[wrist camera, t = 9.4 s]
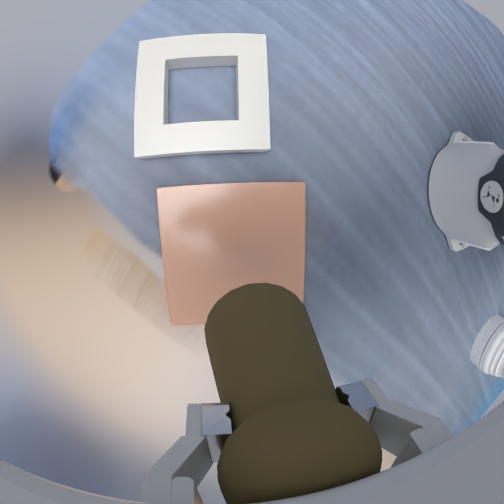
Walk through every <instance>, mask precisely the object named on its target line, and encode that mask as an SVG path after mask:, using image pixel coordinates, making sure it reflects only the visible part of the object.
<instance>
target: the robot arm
mask: <svg viewBox="0 0 504 504" xmlns="http://www.w3.org/2000/svg"><path fill="white" fill-rule="evenodd" d="M429 202H430V207H431V211H432V215H433V218H434V220H435V222H436V224H437V226H438V227H439V229H440V230H441V231H442V232H443V233H444V235H445V236H446V238H447V242H448V245H449V248H450V249H451V250H452V251H456V252H457V251H460V250H462V249H464V248H467V247H469V246H473V247H477V248H480V249H484V250H488V251H490V250H491V249H492V248H495V247H497V246H498V245H499V244H500V243H501V244H503V245H504V150H503V149H500V148H499V147H498V145H496V144H495V143H493V142H480V141H473V140H472V139H471V138H469V137H468V136H466V135H465V134H463V133H462V132H460V131H454V132H453V133H452V135H451V137H450V140H449V143H448V144H447V145H446V146H445V147H444V148H443V149H442V150H441V151H440V152H439V153H438V154H437V156H436V158H435V160H434V162H433V165H432V168H431V172H430V177H429ZM335 391H336V394H337V397H338V399H339V402H340V404H343V405H346V406H350V407H352V408H353V409H354V410H355V411H356V412H358V413H359V414H360V415H361V416H362V417H363V418H364V419H365V420H366V421H367V422H368V423H369V424H370V425H371V426H372V428H373V429H374V431H375V432H376V434H377V435H378V437H379V441H380V445H381V447H382V448H383V449H385V450H387V451H388V452H390V453H392V454H394V455H395V456H397V458H396V459H395V461H394V462H393V464H392V466H391V468H389V469H387V470H385V471H382V472H380V473H377V474H374V475H372V476H369V477H366V478H363V479H360V480H357V481H354V482H351V483H348V484H345V485H342V486H338V487H335V488H331V489H327V490H324V491H320V492H315V493H311V494H307V495H302V496H297V497H292V498H287V499H281V500H275V501H268V502H260V503H251V504H504V401H503V402H502V403H500V404H499V405H498V406H497V407H495V408H494V409H493V410H492V411H490V412H489V413H487V414H486V415H485V416H483V417H482V418H480V419H479V420H478V421H476V422H475V423H473V424H472V425H470V426H469V427H467V428H466V429H464V430H463V431H461V432H459V433H458V434H456V435H455V436H454V435H453V434H452V433H451V431H450V430H449V429H448V428H447V427H446V425H445V424H444V423H443V422H442V421H441V420H440V418H438V417H435V416H432V415H429V414H427V413H424V412H421V411H418V410H416V409H413V408H410V407H408V406H405V405H403V404H400V403H398V402H395V401H392V402H390V401H389V399H388V398H387V397H386V395H385V394H384V393H383V391H382V390H381V389H380V388H379V386H378V385H377V384H376V382H375V381H374V380H373V379H371V378H370V379H366V380H362V381H359V382H355V383H351V384H347V385H342V386H339V387H337V388H336V389H335ZM231 434H232V426H231V416H230V408H229V403H202V404H188V407H187V421H186V436H181V437H180V438H179V439H178V441H177V442H176V443H175V444H174V445H173V446H172V447H171V448H170V449H169V450H168V451H167V452H166V453H165V454H164V455H163V456H162V457H161V458H160V459H159V460H158V461H157V462H156V463H155V464H154V465H153V466H152V467H151V468H150V469H149V470H148V471H147V472H146V473H145V474H144V481H143V489H142V497H141V502H135V501H128V500H122V499H117V498H111V497H106V496H102V495H97V494H92V493H89V492H85V491H81V490H78V489H74V488H71V487H67V486H64V485H61V484H58V483H55V482H52V481H49V480H46V479H43V478H41V477H38V476H36V475H33V474H30V473H28V472H26V471H24V470H21V469H19V468H16V467H14V466H12V465H10V464H8V463H6V462H4V461H0V504H204V503H203V501H202V499H201V496H200V494H199V492H198V490H197V487H198V485H199V484H200V482H201V481H202V479H203V478H204V476H205V475H206V474H207V472H208V471H209V469H210V468H211V466H212V464H213V463H215V462H218V461H219V457H220V454H221V451H222V448H223V446H224V443H225V441H226V439H227V438H228V437H229V436H230V435H231Z"/></svg>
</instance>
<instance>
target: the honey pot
mask: <svg viewBox="0 0 504 504" xmlns="http://www.w3.org/2000/svg"><path fill="white" fill-rule="evenodd" d="M470 361H471V362H472V363H473V364H474V365H475V366H476V367H478V368H479V369H480V370H481V371H483V372H484V373H485V374H491V375H495V376H496V377H502V378H504V318H503V317H502V316H500V315H498V314H497V315H494V316H492V317H491V318H490V319H489V320H488V321H487V322H486V323H485V324H484V326H483V327H482V329H481V330H480V332H479V333H478V335H477V337H476V339H475V341H474V343H473V346H472V349H471V353H470Z"/></svg>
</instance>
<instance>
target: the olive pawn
mask: <svg viewBox="0 0 504 504" xmlns="http://www.w3.org/2000/svg"><path fill="white" fill-rule="evenodd" d="M205 337H206V344H207V348H208V353H209V357H210V361H211V366H212V370H213V373H214V378H215V382H216V386H217V390H218V393H219V398H220V401H221V403H229V408H230V416H231V426H232V434H231V435H230V436H229V437H228V438H227V439H226V441H225V443H224V446H223V448H222V451H221V454H220V457H219V461H218V465H217V471H218V482H219V485H220V489H221V492H222V494H223V496H224V499H225V501H226V503H227V504H251V503H260V502H268V501H275V500H281V499H287V498H292V497H297V496H302V495H307V494H311V493H315V492H320V491H324V490H327V489H331V488H335V487H338V486H342V485H345V484H348V483H351V482H354V481H357V480H360V479H363V478H366V477H369V476H372V475H374V474H377V473H380V469H381V463H382V449H381V445H380V441H379V437H378V435H377V434H376V432H375V431H374V429H373V428H372V426H371V425H370V424H369V423H368V422H367V421H366V420H365V419H364V418H363V417H362V416H361V415H360V414H359V413H358V412H356V411H355V410H354V409H353V408H352V407H350V406H346V405H343V404H340V402H339V399H338V397H337V394H336V391H335V388H334V385H333V382H332V379H331V376H330V374H329V371H328V368H327V365H326V362H325V360H324V357H323V354H322V351H321V348H320V346H319V343H318V340H317V338H316V335H315V332H314V329H313V327H312V324H311V321H310V319H309V316H308V313H307V311H306V308H305V306H304V304H303V303H302V302H301V301H300V299H299V298H298V297H297V295H296V294H294V293H293V292H291V291H289V290H288V289H286V288H284V287H283V286H279V285H275V284H270V283H252V284H246V285H243V286H241V287H238V288H236V289H233V290H231V291H229V292H228V293H227V294H225V295H224V296H223V297H222V298H220V299H219V300H218V301H217V302H216V303H215V305H214V306H213V308H212V309H211V311H210V312H209V314H208V317H207V321H206V325H205Z"/></svg>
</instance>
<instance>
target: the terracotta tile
mask: <svg viewBox="0 0 504 504" xmlns="http://www.w3.org/2000/svg"><path fill="white" fill-rule="evenodd" d="M157 200H158V214H159V227H160V238H161V248H162V258H163V266H164V275H165V283H166V290H167V297H168V304H169V311H170V317H171V323H172V325H189V324H206V321H207V317H208V314H209V312H210V311H211V309H212V308H213V306H214V305H215V303H216V302H217V301H218V300H219V299H220V298H222V297H223V296H224V295H225V294H227V293H228V292H229V291H231V290H233V289H236V288H238V287H241V286H243V285H246V284H252V283H270V284H275V285H279V286H283V287H284V288H286V289H288V290H289V291H291V292H293V293H294V294H296V295H297V297H298V298H299V299H300V301H301V302H302V303H303V300H304V274H305V216H306V203H305V182H248V183H222V184H203V185H188V186H174V187H162V188H157Z"/></svg>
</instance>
